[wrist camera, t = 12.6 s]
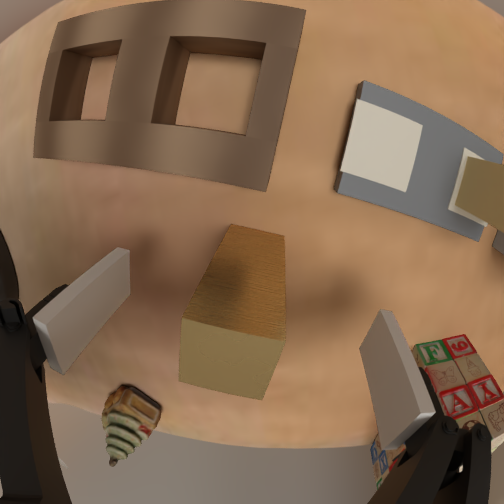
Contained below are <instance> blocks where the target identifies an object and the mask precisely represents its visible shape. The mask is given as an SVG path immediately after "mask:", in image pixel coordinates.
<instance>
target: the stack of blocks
mask: <svg viewBox="0 0 504 504" xmlns="http://www.w3.org/2000/svg"><path fill="white" fill-rule="evenodd" d="M412 355H413V357H414V359H415V361H416V364H417V366H418V367H422V368H423V369H424V370H425V372H426V373H427V374H428V376H429V378H430V380H431V382H432V385H433V387H434V390H435V391H434V392H436V395H437V397H438V400H439V402H440V405H441V407H442V410H443V412H444V415H445V416H450V417H452V418H453V419H454V420H456V422H457V423H458V425H459V428H462V429H467V430H470V429H471V428H472V427H473V426H474V425H475V424H477V423H481V424H483V425H485V426H486V427H487V428H488V429H489V432H490V434H491V453H492V452H493V451H494V450H495V449H496V448H497V447H498V446H499V445H500V444H501V443H502V442H503V441H504V395H503V393H502V391H501V389H500V387H499V386H498V384H497V382H496V380H495V379H494V377H493V376H492V375H491V374H490V372H489V370H488V369H487V367H486V366H485V364H484V363H483V361H482V359H481V358H480V356H479V355H478V354H477V351H476V350H475V348H474V347H473V345H472V344H471V342H470V341H469V339H468V338H467V336H466V335H465V334H463V335H458V336H454V337H450V338H445V339H442V340H437V341H432V342H427V343H421V344H416V345H415V346H414V349H413V352H412ZM404 449H406V445H405V442H404V443H403V444H402V445H401V446H400V447H398V448H397V449H393V450H382V449H381V443H380V438H379V433H378V435H377V437H376V439H375V441H374V443H373V445H372V447H371V455H372V461H373V469H374V476H375V482H376V483H377V490H378V489H379V487H380V486H381V484H382V483H383V481H384V480H385V478H386V477H387V475H388V474H389V472H390V471H391V469H392V468H393V466H394V464H395V463H396V461H397V459H396V460H395V461H394V462H393V461H392V460H393V459H394V458H395V457H396V456H397V455H398V454H400V453H401V452H402V451H403V450H404ZM462 468H463V465H462V466H461V467H460V468H459V472H461V471H462Z"/></svg>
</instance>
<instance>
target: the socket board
mask: <svg viewBox="0 0 504 504" xmlns="http://www.w3.org/2000/svg"><path fill="white" fill-rule="evenodd" d="M305 14H306V10H304V9H299V8H294V7H288V6H283V5H276V4H270V3H262V2H253V1H243V0H164V1H153V2H145V3H137V4H131V5H125V6H119V7H114V8H109V9H104V10H100V11H95V12H91V13H88V14H84V15H80V16H77V17H73V18H70V19H67V20H64V21H61V22H58V24H57V27H56V30H55V34H54V37H53V40H52V44H51V47H50V51H49V54H48V58H47V62H46V66H45V71H44V75H43V80H42V85H41V91H40V97H39V103H38V110H37V118H36V127H35V139H34V156H33V158H46V159H59V160H70V161H80V162H90V163H99V164H107V165H115V166H123V167H130V168H138V169H145V170H151V171H158V172H164V173H170V174H176V175H182V176H188V177H193V178H199V179H204V180H210V181H215V182H220V183H225V184H230V185H235V186H240V187H245V188H249V189H254V190H259V191H263V192H266V189H267V186H268V182H269V178H270V173H271V169H272V164H273V160H274V155H275V151H276V146H277V142H278V137H279V133H280V128H281V124H282V119H283V115H284V110H285V106H286V101H287V97H288V92H289V88H290V83H291V79H292V74H293V70H294V65H295V61H296V56H297V52H298V47H299V43H300V38H301V34H302V29H303V24H304V19H305ZM190 52H192V53H210V54H222V55H232V56H240V57H248V58H255V59H261V60H262V64H261V69H260V73H259V77H258V82H257V86H256V91H255V95H254V100H253V104H252V109H251V113H250V118H249V123H248V128H247V132H246V135H242V134H236V133H231V132H225V131H219V130H212V129H205V128H198V127H190V126H182V125H175V121H176V115H177V110H178V105H179V100H180V95H181V90H182V85H183V81H184V76H185V72H186V68H187V64H188V60H189V56H190ZM116 54H118V58H117V62H116V66H115V71H114V75H113V80H112V85H111V90H110V95H109V100H108V106H107V112H106V119H105V120H80V119H81V112H82V105H83V99H84V93H85V88H86V83H87V78H88V73H89V69H90V65H91V61H92V57H99V56H107V55H116Z"/></svg>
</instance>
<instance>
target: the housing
mask: <svg viewBox="0 0 504 504" xmlns="http://www.w3.org/2000/svg"><path fill="white" fill-rule="evenodd" d="M492 247H494V248H495V249H497V250H498V251H499V252H501V253H502V254H503V255H504V233H503V232H501V231H500V230H498V232H497V234H496V237H495V240H494V242H493V245H492Z"/></svg>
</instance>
